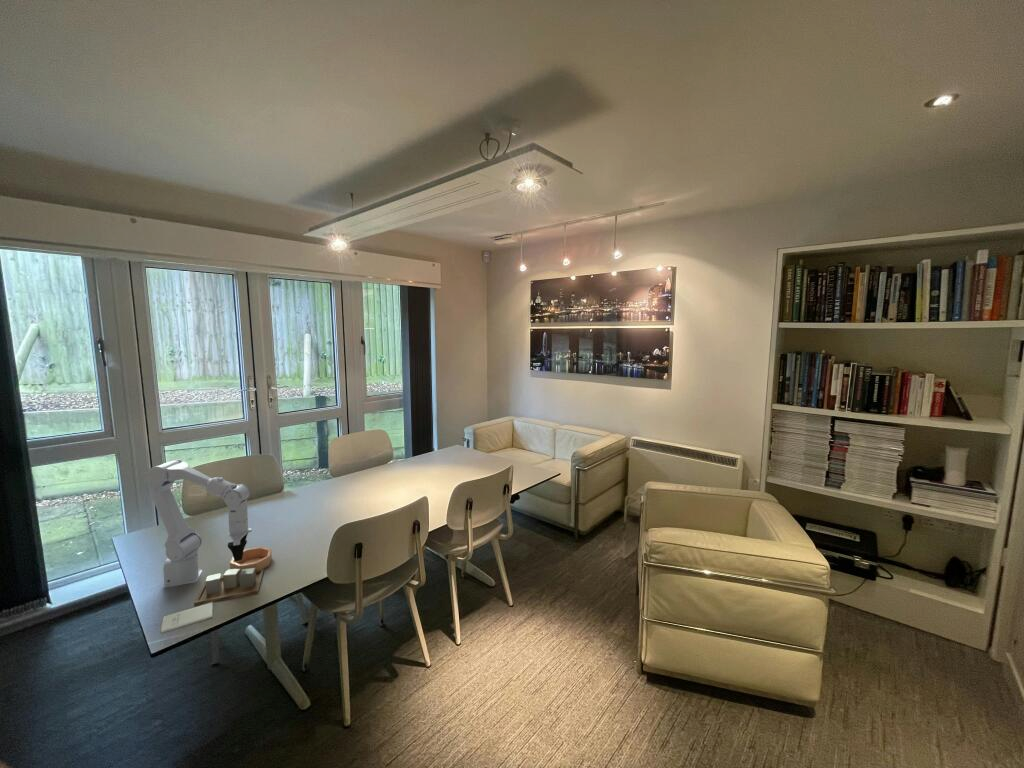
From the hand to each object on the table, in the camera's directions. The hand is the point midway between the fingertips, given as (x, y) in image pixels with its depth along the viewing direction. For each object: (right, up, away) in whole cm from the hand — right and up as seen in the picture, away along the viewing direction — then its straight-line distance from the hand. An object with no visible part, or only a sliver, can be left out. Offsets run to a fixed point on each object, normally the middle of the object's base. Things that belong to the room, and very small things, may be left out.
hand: (239, 554), depth 147 cm
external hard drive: (-3, -13, -20) cm, 24 cm away
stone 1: (-5, -10, -6) cm, 13 cm away
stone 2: (-1, -10, -3) cm, 10 cm away
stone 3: (+5, -10, -2) cm, 11 cm away
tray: (0, -10, -4) cm, 11 cm away
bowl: (-2, -8, +10) cm, 13 cm away
